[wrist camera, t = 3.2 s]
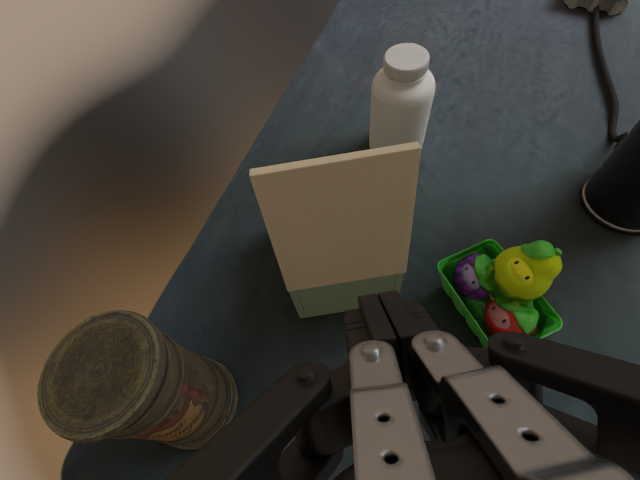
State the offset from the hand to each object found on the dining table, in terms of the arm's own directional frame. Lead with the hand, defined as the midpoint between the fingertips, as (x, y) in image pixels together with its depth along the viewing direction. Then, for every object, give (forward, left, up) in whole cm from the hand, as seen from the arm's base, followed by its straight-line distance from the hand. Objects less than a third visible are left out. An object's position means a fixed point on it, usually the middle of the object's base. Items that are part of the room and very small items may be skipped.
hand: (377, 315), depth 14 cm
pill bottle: (-35, -11, -28) cm, 46 cm away
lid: (-9, -7, -12) cm, 16 cm away
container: (+8, -16, -28) cm, 33 cm away
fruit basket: (-16, +8, -28) cm, 33 cm away
